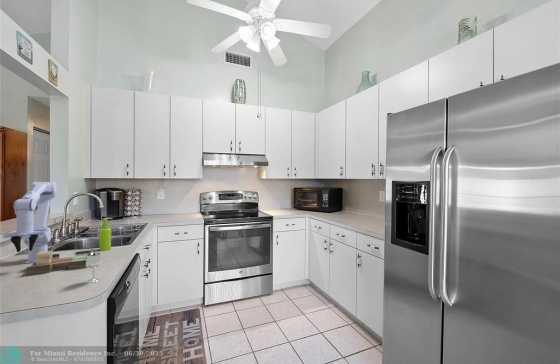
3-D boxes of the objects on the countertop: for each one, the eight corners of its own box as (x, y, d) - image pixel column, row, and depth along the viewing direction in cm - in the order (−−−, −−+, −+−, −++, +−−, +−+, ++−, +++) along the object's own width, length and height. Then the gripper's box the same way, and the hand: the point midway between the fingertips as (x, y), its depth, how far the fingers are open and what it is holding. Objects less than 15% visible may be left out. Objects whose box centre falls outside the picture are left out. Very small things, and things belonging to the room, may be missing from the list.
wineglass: (91, 278, 112) (91, 252, 112) (104, 278, 113) (104, 252, 113) (82, 283, 107) (82, 256, 106) (95, 283, 107) (96, 256, 107)
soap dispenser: (114, 248, 158) (115, 217, 157) (103, 251, 151) (104, 219, 151) (108, 247, 160) (108, 216, 159) (97, 250, 153) (97, 218, 153)
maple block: (39, 261, 124) (39, 252, 124) (52, 260, 127) (52, 250, 126) (35, 265, 120) (35, 254, 120) (49, 263, 122) (49, 253, 122)
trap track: (39, 262, 129) (39, 254, 129) (93, 256, 141) (93, 248, 141) (26, 275, 113) (26, 266, 113) (88, 267, 125) (88, 258, 125)
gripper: (-1, 226, 112) (-1, 255, 112) (42, 223, 119) (42, 251, 120) (6, 223, 118) (6, 251, 118) (46, 221, 125) (46, 247, 126)
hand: (24, 250), depth 119 cm, fingers open, 4 cm apart
